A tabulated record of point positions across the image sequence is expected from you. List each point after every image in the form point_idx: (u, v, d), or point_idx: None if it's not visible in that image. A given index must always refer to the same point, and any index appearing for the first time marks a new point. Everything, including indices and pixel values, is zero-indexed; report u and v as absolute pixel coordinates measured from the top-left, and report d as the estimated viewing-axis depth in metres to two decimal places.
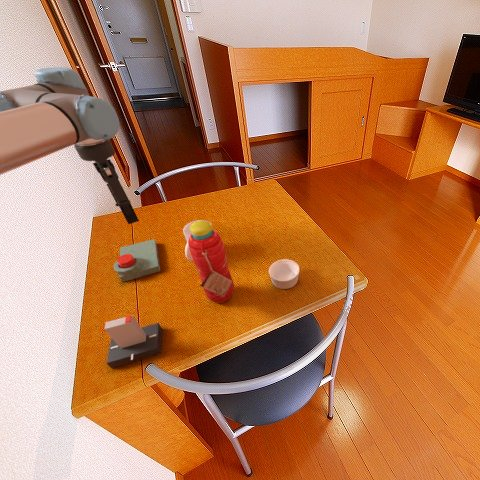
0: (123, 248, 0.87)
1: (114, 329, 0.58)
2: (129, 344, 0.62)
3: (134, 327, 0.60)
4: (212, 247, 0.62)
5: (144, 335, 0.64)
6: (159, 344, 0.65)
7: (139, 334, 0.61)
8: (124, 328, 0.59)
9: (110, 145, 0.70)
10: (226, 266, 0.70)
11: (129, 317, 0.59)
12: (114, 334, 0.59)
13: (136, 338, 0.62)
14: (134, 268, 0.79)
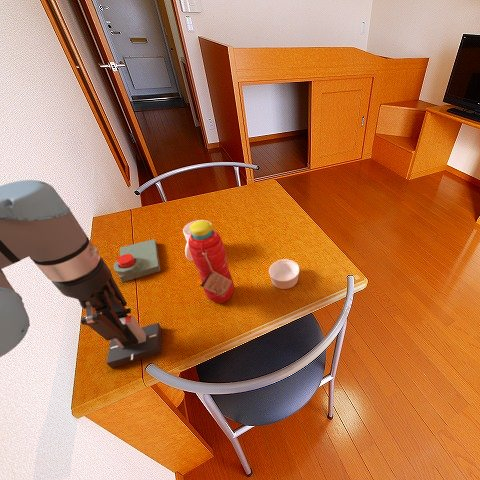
0: (123, 248, 0.87)
1: None
2: None
3: (134, 327, 0.60)
4: (212, 247, 0.62)
5: (144, 335, 0.64)
6: (159, 344, 0.65)
7: (139, 334, 0.61)
8: None
9: (101, 275, 0.48)
10: (226, 266, 0.70)
11: (129, 317, 0.59)
12: None
13: None
14: (134, 268, 0.79)
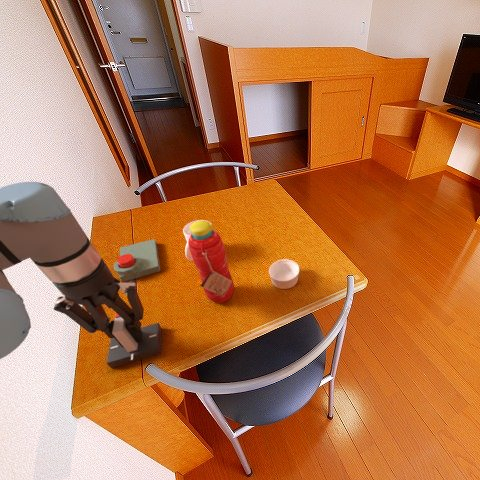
0: (123, 248, 0.87)
1: (124, 326, 0.58)
2: None
3: None
4: (212, 247, 0.62)
5: None
6: (159, 344, 0.65)
7: None
8: None
9: None
10: (226, 266, 0.70)
11: None
12: (127, 333, 0.59)
13: None
14: (134, 268, 0.79)
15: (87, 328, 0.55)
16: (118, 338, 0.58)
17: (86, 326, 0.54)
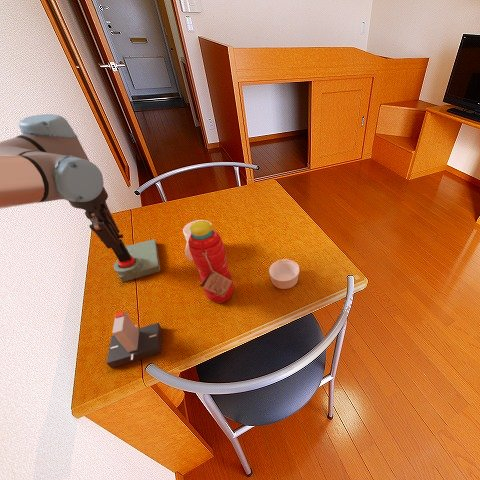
0: None
1: (124, 326, 0.58)
2: (137, 341, 0.63)
3: (128, 317, 0.61)
4: (212, 247, 0.62)
5: None
6: (159, 344, 0.65)
7: (133, 324, 0.63)
8: (126, 322, 0.60)
9: (101, 192, 0.65)
10: (226, 266, 0.70)
11: (118, 314, 0.59)
12: (127, 333, 0.59)
13: (135, 330, 0.63)
14: (134, 268, 0.79)
15: None
16: (118, 338, 0.58)
17: None
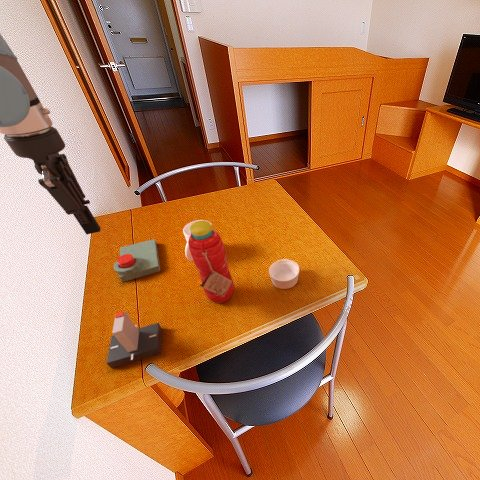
0: (123, 248, 0.87)
1: (124, 326, 0.58)
2: (137, 341, 0.63)
3: (128, 317, 0.61)
4: (212, 247, 0.62)
5: None
6: (159, 344, 0.65)
7: (133, 324, 0.63)
8: (126, 322, 0.60)
9: (54, 139, 0.51)
10: (226, 266, 0.70)
11: (118, 314, 0.59)
12: (127, 333, 0.59)
13: (135, 330, 0.63)
14: (134, 268, 0.79)
15: None
16: (118, 338, 0.58)
17: None
